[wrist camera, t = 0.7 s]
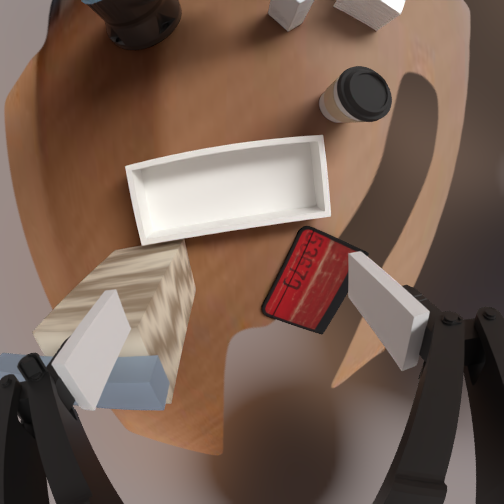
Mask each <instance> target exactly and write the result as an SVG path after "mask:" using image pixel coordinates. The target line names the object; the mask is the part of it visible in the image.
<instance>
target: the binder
mask: <svg viewBox="0 0 504 504" xmlns="http://www.w3.org/2000/svg"><path fill="white" fill-rule="evenodd" d="M359 251H361V252H362V253H364V254H365V255H366V256H368V253H367V252H366V251H364V250H362V249H360V248H357V247H355V246H353V245H351V244H349V243H347V242H344V241H342V240H340V239H338V238H336V237H333V236H331V235H329V234H327V233H324V232H322V231H320V230H317V229H315V228H313V227H310V226H304V227H302V228H301V229H300V230H299V231H298V233H297V236H296V239H295V241H294V243H293V245H292V247H291V249H290V252H289V254H288V256H287V258H286V260H285V262H284V264H283V266H282V268H281V270H280V272H279V274H278V276H277V278H276V280H275V282H274V284H273V286H272V288H271V290H270V292H269V294H268V296H267V297H266V299H265V300H264V302H263V305H262V311H263V313H264V315H266V316H268V317H271V318H274V319H277V320H280V321H282V322H285V323H288V324H291V325H294V326H297V327H300V328H303V329H306V330H309V331H313V332H315V333H319V334H323V332H324V331H325V330H326V328H327V326H328V325H329V323H330V322H331V320H332V318H333V316H334V315H335V313H336V312H337V310H338V308H339V307H340V305H341V303H342V301H343V300H344V298H345V296H346V295H347V293H348V284H349V258H348V253H353V252H359Z"/></svg>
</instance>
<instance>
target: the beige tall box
mask: <svg viewBox="0 0 504 504" xmlns="http://www.w3.org/2000/svg"><path fill="white" fill-rule="evenodd" d="M113 289H116V290H117V293H118V296H119V299H120V302H121V304H122V307H123V310H124V312H125V315H126V317H127V320H128V322H129V325H130V327H131V330H130V332H129V334H128V337H127V339H126V341H125V343H124V345H123V347H122V349H121V351H120V353H119V356H118V357H133V356H153V355H158V357H159V359H160V361H161V364H162V366H163V368H164V371H165V373H166V375H167V378H168V380H169V382H170V385H169V389H168V394H167V399H166V403H165V404H170V403H171V402H172V397H173V392H174V387H175V382H176V377H177V372H178V367H179V362H180V357H181V353H182V348H183V344H184V339H185V334H186V330H187V326H188V321H189V317H190V313H191V308H192V304H193V300H194V296H195V292H196V288H195V284H194V280H193V275H192V271H191V267H190V262H189V258H188V253H187V249H186V244H185V239H184V238H183V239H177V240H171V241H166V242H160V243H154V244H148V245H143V246H136V247H131V248H125V249H120V250H115V251H114V252H113V253H112V254H110V255H109V256H108V257H107V258H106V259H105V260H104V261H103V262H102V263H101V264H99V265H98V266H97V267H96V268H95V269H94V270H93V271H92V272H91V273H90V274H89V275H88V276H87V277H86V278H84V279H83V280H82V281H81V282H80V283H79V284H78V285H77V286H76V287H75V288H74V289H73V290H72V291H71V292H70V293H69V294H68V295H67V296H66V297H65V298H64V299H63V300H62V301H61V302H60V303H59V304H58V305H57V306H56V307H55V308H54V309H53V310H52V312H51V313H50V314H49V315H48V316H47V317H46V318H45V319H44V320H43V321H42V322H41V323H40V324H39V325H38V326H37V327H36V329H35V330H34V331H33V332H32V333H33V335H34V337H35V339H36V341H37V343H38V345H39V347H40V348H41V350H42V352H43V354H44V356H52V357H53V356H54V355H55V353H57V351H58V349H59V348H60V346H61V345H62V343H63V342H64V341H65V340H66V339H67V338H68V337H69V336H71V335H72V333H73V332H74V331H75V329H76V328H77V327H78V325H79V324H80V322H81V321H82V320H83V318H84V317H85V316H86V315H87V313H88V312H89V311H90V309H91V308H92V307H93V305H94V304H95V303H96V302H97V300H98V299H99V298H100V296H101V295H102V294H103V293H104V291H106V290H113Z"/></svg>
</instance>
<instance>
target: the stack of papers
mask: <svg viewBox="0 0 504 504" xmlns="http://www.w3.org/2000/svg"><path fill="white" fill-rule="evenodd" d="M404 3H405V0H336V2H335V4H334V6H333V7H335V8H337V9H339V10H341V11H343V12H345V13H347V14H348V15H350V16H352V17H354V18H356V19H357V20H359V21H361V22H363V23H364V24H366V25H368V26H369V27H371V28H373V29H374V30H376V31H378V30H379V29H380V28H382V27H383V26H384V25H386V24H387V23H389V22H390V21H391V20H393V19H395V18H396V17H397V16H398V15H400V14H401V12H402V9H403V6H404Z"/></svg>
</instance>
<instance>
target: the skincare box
mask: <svg viewBox="0 0 504 504" xmlns="http://www.w3.org/2000/svg"><path fill="white" fill-rule="evenodd" d="M313 1H314V0H271V1H270V6H269V10H268V14H269V15H270V16H271V17H272V18H273V19H275V20H276V21H277V22H278V23H279V24H280V25H281V26H282V27H284V28H285V29H286V30H287V31H290V30H292V29H293V28H295V27H297V26H298V25H300V24H302V23H303V21H304V19H305V17H306V15H307V13H308V11H309V9H310V7H311V5H312V3H313Z"/></svg>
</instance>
